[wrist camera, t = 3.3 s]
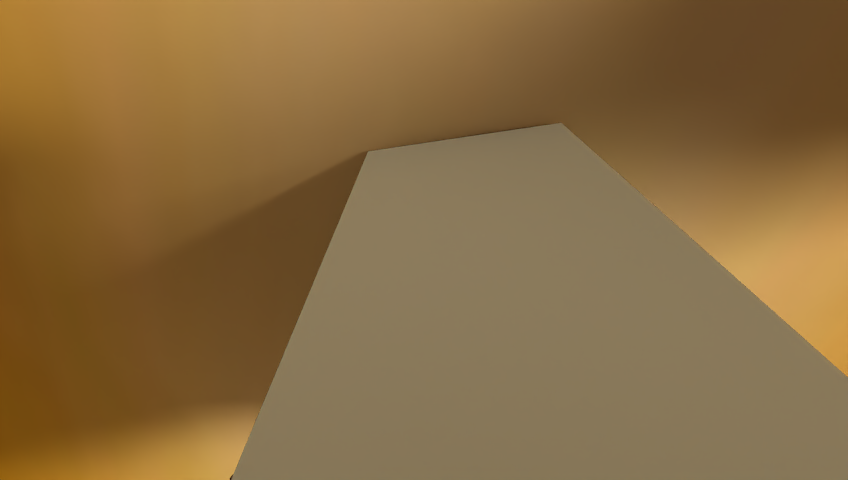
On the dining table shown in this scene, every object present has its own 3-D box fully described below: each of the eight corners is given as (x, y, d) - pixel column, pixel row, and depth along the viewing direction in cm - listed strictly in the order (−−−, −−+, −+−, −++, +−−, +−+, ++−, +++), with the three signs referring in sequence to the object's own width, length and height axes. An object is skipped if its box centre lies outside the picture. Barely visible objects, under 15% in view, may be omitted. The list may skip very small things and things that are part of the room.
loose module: (561, 122, 9) (1144, 640, 2) (560, 344, 11) (767, 877, 4) (367, 151, 9) (145, 684, 2) (414, 359, 12) (392, 879, 5)
